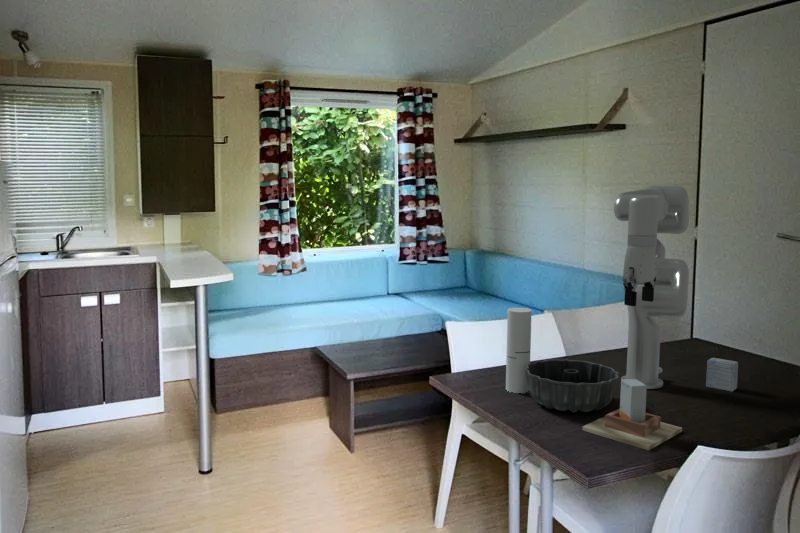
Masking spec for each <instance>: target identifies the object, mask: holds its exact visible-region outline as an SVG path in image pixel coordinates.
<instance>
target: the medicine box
mask: <svg viewBox="0 0 800 533" xmlns="http://www.w3.org/2000/svg"><path fill="white" fill-rule="evenodd" d="M706 366H707V367H706V379H705V380H706V382H705V387H707V388H712V389H717V390H723V391H727V392H734V391H735V390H736V389H737V388H738V376H739V375H738V372H739V362H738V361H736V360H735V361H734V360H729V359H723V358H716V357H711V358H709V359H708V360H707V364H706Z"/></svg>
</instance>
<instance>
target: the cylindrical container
mask: <svg viewBox="0 0 800 533" xmlns="http://www.w3.org/2000/svg"><path fill="white" fill-rule="evenodd" d="M532 312H533V310H532V309H530V308H526V307H509V308H508V309H507V319H506V320H507V321H506V322H507V323H506V324H507V326H506V329H507V330H506V360H505V361H506V367H505V368H506V369H505V390H507V391H506V392H508V391H509V393H511V392H513V393H512V394H519V393H521V394H527V393H529V392H528V385H527V377H526V372H525V371H524V369H525V368H526V366H527V365H528V364H531V346H532V343H531V342H532V315H533V314H532ZM526 392H527V393H526Z"/></svg>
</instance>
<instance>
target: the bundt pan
mask: <svg viewBox="0 0 800 533" xmlns="http://www.w3.org/2000/svg"><path fill="white" fill-rule="evenodd" d="M524 371H525V372H526V377H527V385H528V391H529V392H528V393H529V395H530V396H531V398H532V399H533V400H534V401H536V402H537V403H538V404H540V405H542V406H545V408H547V409H550V410H552V409H555V410H556V411H560V412H566V411H568V410H569V411H570V412H571V413H572V414H574V413H577V412H578V411H579V412H582V413H588V412H592V411H593V412H599V411H600V410H602V409H603V408H605V407H607V406H608V405H609V404H611V402H612V401H613V398H614V394H615V390H616V386H617V385H616V384H617V381H618V380H619V376H620V373H619V372H618V371H616V370H615V369H614V368H612V367H610V366H607V365H603V364H602V363H593V362H591V361H586V360H578V359H577V360H574V359H573V360H572V359H567V358H566V359H545V360H542V361H541V360H538V361H537V360H536V361H535V362H532V363H531V362H530V364H528V365H527V366H526V368H525V369H524Z"/></svg>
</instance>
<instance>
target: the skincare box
mask: <svg viewBox="0 0 800 533" xmlns="http://www.w3.org/2000/svg"><path fill="white" fill-rule="evenodd" d="M647 390H648V389H647V386H646V385H645V384H643V383H642V382H640V381H638V380H636V379H622V380H621V379H620V393H619V394H620V397H619V398H620V399H619V409H620V415H619V417H620V418H623V419H627V420H631V421H634V422H638V423H643V422H645V413H647V412H646V409H647V408H646V407H647Z"/></svg>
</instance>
